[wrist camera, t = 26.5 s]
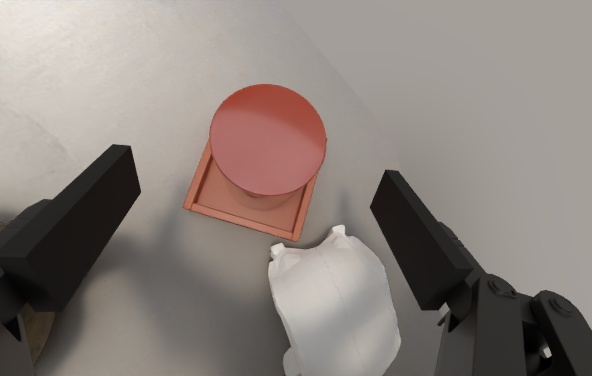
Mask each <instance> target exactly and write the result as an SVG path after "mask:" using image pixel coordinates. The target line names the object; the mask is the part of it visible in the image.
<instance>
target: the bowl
mask: <svg viewBox="0 0 592 376" xmlns="http://www.w3.org/2000/svg"><path fill="white" fill-rule="evenodd" d="M5 226H7V225H5V224H3V223H1V222H0V231H1V230H2V229H5ZM87 274H88V273H87ZM86 276H87V275H86ZM86 276H85V277H86ZM19 314H20V316H21V317H22V319H23V323H24V328H25V332H26V337H27V341H28V346H29V350H30V355H31V360H32V364H33V365H34V364H35V362H36V360H37V358H38V357H39V355H40V354H41V352H42V350H43V348H44V345H45V343H46V341H47V338H48V335H49V333H50V330H51V327H52V324H53V320H54V315H55V312H35V311H34V310H33V309H32V307H31V306H30V305H29V304H28V302H27V303H26V304H25V305H24V307H23V308H22V309H21V310H20V312H19Z"/></svg>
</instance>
